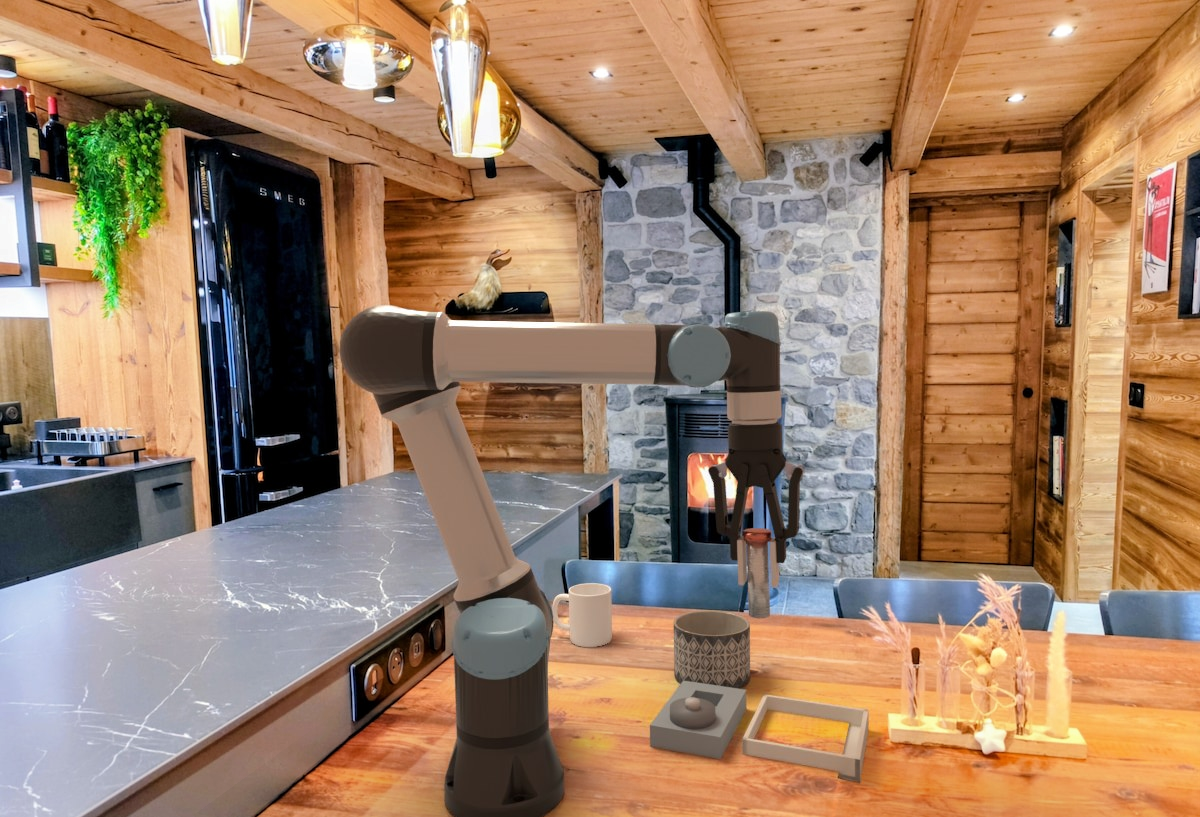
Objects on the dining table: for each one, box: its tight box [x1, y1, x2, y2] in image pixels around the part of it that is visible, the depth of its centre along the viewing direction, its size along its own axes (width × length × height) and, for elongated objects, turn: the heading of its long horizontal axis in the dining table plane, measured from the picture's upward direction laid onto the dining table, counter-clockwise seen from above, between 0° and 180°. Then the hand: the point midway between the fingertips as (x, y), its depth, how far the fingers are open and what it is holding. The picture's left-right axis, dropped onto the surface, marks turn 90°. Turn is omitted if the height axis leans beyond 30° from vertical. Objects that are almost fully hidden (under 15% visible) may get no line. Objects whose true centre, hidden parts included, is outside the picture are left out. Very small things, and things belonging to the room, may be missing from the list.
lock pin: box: [742, 527, 773, 619], centre depth 113 cm, size 4×4×12 cm
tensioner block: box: [649, 681, 747, 760], centre depth 114 cm, size 16×10×7 cm, turn 157°
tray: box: [741, 693, 870, 783], centre depth 111 cm, size 15×15×3 cm
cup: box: [551, 582, 613, 648], centre depth 153 cm, size 8×12×10 cm
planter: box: [673, 609, 751, 689], centre depth 132 cm, size 13×13×10 cm
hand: (758, 583), depth 113 cm, fingers closed on lock pin, 4 cm apart
